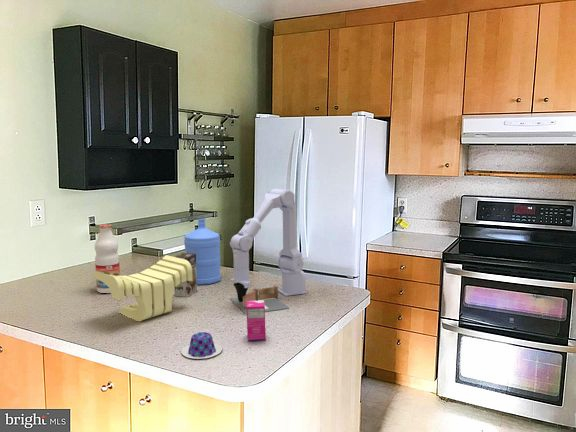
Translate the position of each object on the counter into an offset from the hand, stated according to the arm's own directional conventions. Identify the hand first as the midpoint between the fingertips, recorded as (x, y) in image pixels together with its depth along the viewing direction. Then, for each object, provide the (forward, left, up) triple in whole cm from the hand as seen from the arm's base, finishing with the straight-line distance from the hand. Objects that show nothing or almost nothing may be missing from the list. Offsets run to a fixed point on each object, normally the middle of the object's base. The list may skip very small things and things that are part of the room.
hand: (241, 301), depth 180 cm
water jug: (+5, -41, -2) cm, 41 cm away
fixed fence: (-11, -4, -2) cm, 12 cm away
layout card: (-7, 0, -2) cm, 7 cm away
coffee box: (+16, -25, -2) cm, 30 cm away
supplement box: (+5, +30, -2) cm, 31 cm away
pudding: (+23, +33, -2) cm, 41 cm away
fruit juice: (+45, -41, -2) cm, 61 cm away
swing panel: (-3, 0, -1) cm, 3 cm away
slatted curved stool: (+34, -7, -2) cm, 35 cm away
